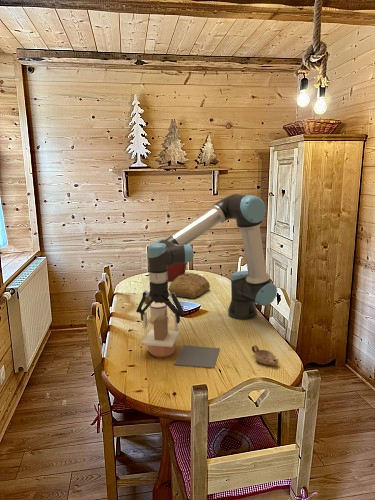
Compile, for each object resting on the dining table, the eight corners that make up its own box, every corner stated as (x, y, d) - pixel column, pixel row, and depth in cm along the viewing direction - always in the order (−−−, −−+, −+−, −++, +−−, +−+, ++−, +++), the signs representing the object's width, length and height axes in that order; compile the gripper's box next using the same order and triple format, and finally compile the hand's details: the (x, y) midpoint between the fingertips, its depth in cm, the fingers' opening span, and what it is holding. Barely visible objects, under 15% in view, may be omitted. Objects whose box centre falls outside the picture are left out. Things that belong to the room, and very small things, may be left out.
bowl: (177, 346, 164) (177, 333, 162) (171, 359, 153) (170, 345, 152) (153, 344, 166) (153, 332, 165) (145, 356, 156) (145, 343, 154)
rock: (142, 302, 212) (159, 299, 211) (141, 287, 216) (158, 285, 214) (147, 307, 222) (163, 304, 221) (146, 293, 225) (162, 291, 224)
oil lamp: (282, 365, 146) (283, 354, 145) (268, 371, 142) (269, 359, 141) (259, 352, 157) (259, 341, 156) (246, 357, 153) (246, 346, 152)
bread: (195, 301, 217) (194, 281, 215) (165, 295, 228) (164, 277, 226) (214, 289, 237) (214, 271, 235) (186, 284, 248) (185, 267, 246)
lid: (179, 333, 163) (179, 313, 161) (172, 347, 151) (171, 326, 149) (151, 331, 166) (150, 312, 164) (142, 344, 154) (140, 324, 152)
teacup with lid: (167, 323, 187) (166, 302, 185) (149, 324, 188) (148, 302, 185) (169, 314, 199) (168, 293, 197) (152, 314, 199) (151, 294, 197)
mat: (219, 349, 160) (219, 348, 160) (213, 368, 145) (213, 367, 145) (183, 346, 164) (183, 345, 164) (174, 365, 148) (174, 364, 148)
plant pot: (162, 274, 271) (161, 252, 268) (188, 274, 269) (188, 252, 266) (158, 283, 253) (157, 259, 249) (186, 283, 251) (185, 259, 247)
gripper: (126, 282, 152) (129, 330, 156) (186, 285, 146) (187, 334, 151) (133, 277, 159) (136, 323, 163) (190, 279, 153) (191, 327, 158)
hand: (160, 328), depth 157 cm, fingers open, 13 cm apart
